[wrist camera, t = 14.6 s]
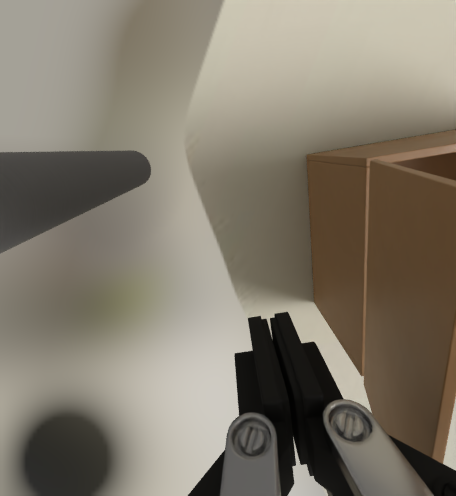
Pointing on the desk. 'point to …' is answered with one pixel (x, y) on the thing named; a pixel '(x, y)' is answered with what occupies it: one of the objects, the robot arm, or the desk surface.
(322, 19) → the desk surface
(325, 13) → the desk surface
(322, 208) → the carton
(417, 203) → the flap
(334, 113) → the desk surface
